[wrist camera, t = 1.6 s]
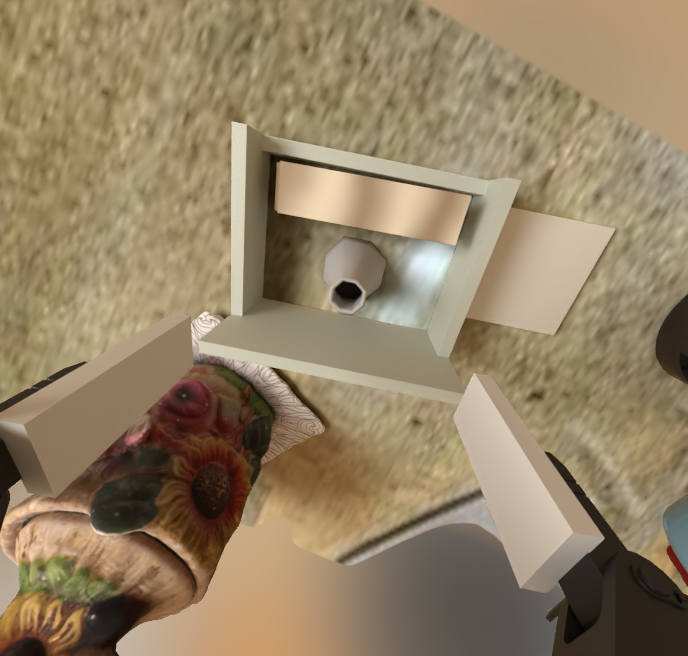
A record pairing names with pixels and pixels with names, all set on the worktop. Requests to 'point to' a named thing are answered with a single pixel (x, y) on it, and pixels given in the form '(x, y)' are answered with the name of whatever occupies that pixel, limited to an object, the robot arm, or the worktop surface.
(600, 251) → the mat
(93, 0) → the worktop surface
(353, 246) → the flask
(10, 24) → the worktop surface
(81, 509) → the cookie jar
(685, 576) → the plastic cup
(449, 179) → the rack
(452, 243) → the light brown wooden block
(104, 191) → the worktop surface
